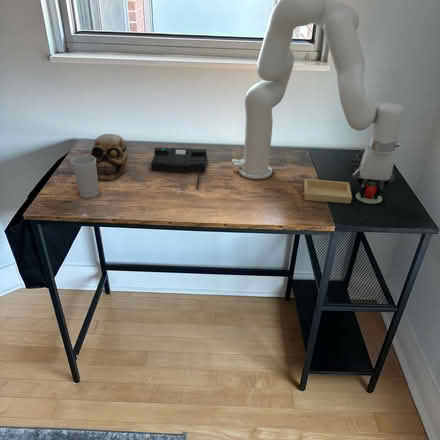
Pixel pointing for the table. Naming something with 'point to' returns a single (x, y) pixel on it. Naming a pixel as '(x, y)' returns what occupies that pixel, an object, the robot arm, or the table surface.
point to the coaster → (369, 199)
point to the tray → (327, 191)
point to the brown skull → (109, 156)
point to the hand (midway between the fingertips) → (368, 196)
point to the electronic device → (180, 160)
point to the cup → (86, 175)
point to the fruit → (357, 160)
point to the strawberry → (370, 190)
